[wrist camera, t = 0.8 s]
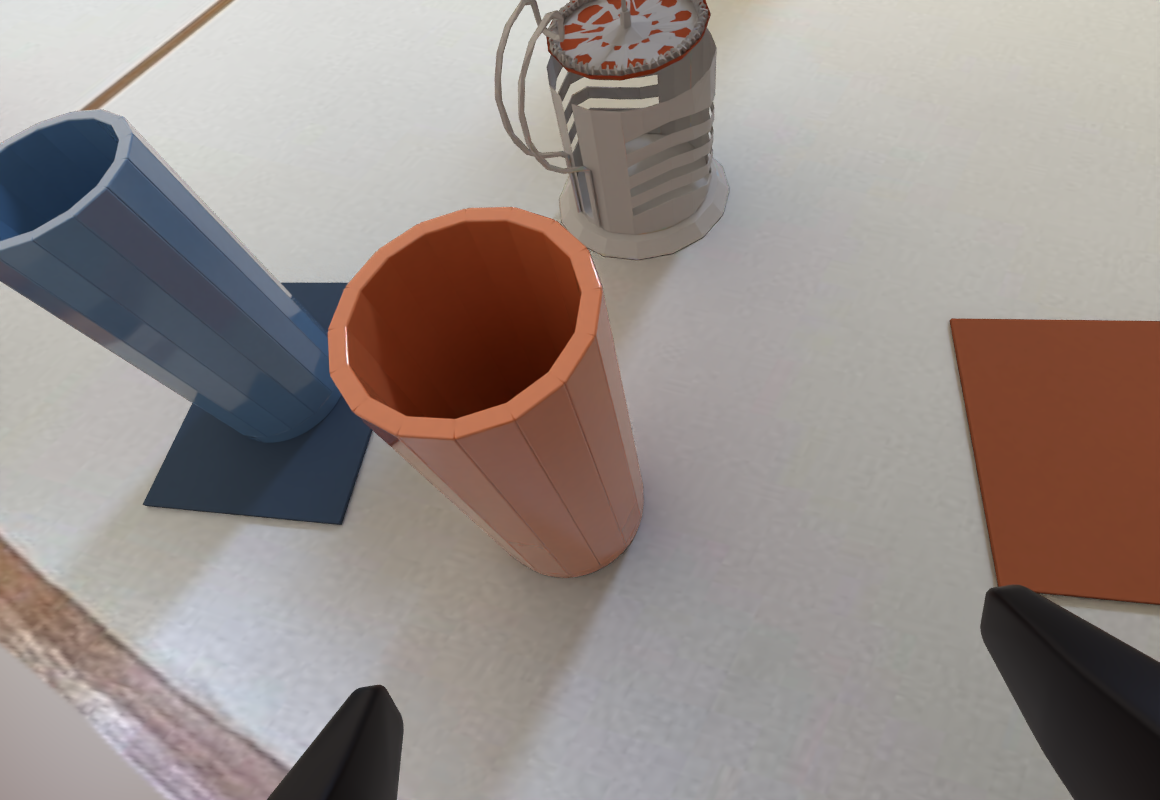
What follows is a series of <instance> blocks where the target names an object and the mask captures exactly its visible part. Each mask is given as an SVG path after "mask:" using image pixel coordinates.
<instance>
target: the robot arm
mask: <svg viewBox="0 0 1160 800" xmlns="http://www.w3.org/2000/svg"><path fill="white" fill-rule="evenodd" d="M980 629H981V635H982V638H983V641H984V643H985V645H986V647H987V649H988V651H989V653H990V655H991V656H992V658H993V660H994V662H995V664H996V666H997V668H998V670H999V671H1000V673H1001V675H1002V677H1003V679H1004V681H1005V683H1006V684H1007V686H1008V688H1009V690H1010V692H1011V694H1012V696H1013V697H1014V699H1015V701H1016V703H1017V705H1018V707H1019V709H1020V710H1021V712H1022V714H1023V716H1024V718H1025V720H1026V722H1027V724H1028V725H1029V727H1030V729H1031V731H1032V733H1033V735H1034V736H1035V738H1036V740H1037V742H1038V743H1039V745H1040V747H1041V749H1042V751H1043V752H1044V754H1045V756H1046V757H1047V759H1048V760H1049V762H1050V763H1051V765H1052V767H1053V768H1054V770H1055V771H1056V773H1057V774H1058V776H1059V777H1060V779H1061V780H1062V782H1063V783H1064V785H1065V786H1066V788H1067V789H1068V791H1069V792H1070V794H1071V795H1072V797H1073V798H1074V800H1160V662H1158V661H1156V660H1154V659H1153V658H1151V657H1149V656H1147V655H1145V654H1144V653H1142V652H1140V651H1138V650H1137V649H1135V648H1133V647H1131V646H1130V645H1128V644H1126V643H1124V642H1123V641H1121V640H1119V639H1117V638H1115V637H1114V636H1112V635H1110V634H1108V633H1107V632H1105V631H1103V630H1101V629H1100V628H1098V627H1096V626H1094V625H1092V624H1091V623H1089V622H1087V621H1085V620H1084V619H1082V618H1080V617H1078V616H1077V615H1075V614H1073V613H1071V612H1069V611H1068V610H1066V609H1064V608H1062V607H1061V606H1059V605H1057V604H1055V603H1054V602H1052V601H1050V600H1048V599H1046V598H1045V597H1043V596H1041V595H1039V594H1038V593H1036V592H1034V591H1032V590H1031V589H1029V588H1027V587H1024V586H1022V585H1007V586H1000V587H994V588H991V589H989V590H988V591H987V592H986V596H985V602H984V607H983V613H982V619H981V626H980ZM402 741H403V720H402V716H401V714H400V712H399V710H398V709H397V707H396V705H395V703H394V702H393V700H392V698H391V696H390V695H389V693H388V691H387V689H386V688H385V687H384V686H382V685H374V686H368V687H361V688H358V689H356V690H355V691H354V692H353V693H352V694H351V695H350V696H349V697H348V699H347V700H346V701H345V702H344V704H343V705H342V706H341V707H340V709H339V710H338V711H337V712H336V714H335V715H334V716H333V717H332V719H331V720H330V721H329V722H328V724H327V725H326V726H325V727H324V729H323V730H322V731H321V732H320V734H319V735H318V736H317V737H316V739H315V740H314V741H313V742H312V744H311V745H310V746H309V747H308V749H307V750H306V751H305V752H304V754H303V755H302V756H301V757H300V759H299V760H298V761H297V762H296V764H295V765H294V766H293V768H292V769H291V770H290V771H289V773H288V774H287V775H286V776H285V778H284V779H283V780H282V781H281V783H280V784H279V785H278V786H277V788H276V789H275V790H274V791H273V793H272V794H271V795H270V796H269V798H268V799H267V800H397V791H398V781H399V771H400V761H401V751H402Z"/></svg>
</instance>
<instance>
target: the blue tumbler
mask: <svg viewBox="0 0 1160 800" xmlns="http://www.w3.org/2000/svg"><path fill="white" fill-rule="evenodd" d="M0 281H1V282H2V283H4V284H5V285H7V286H8V287H10V288H12V289H13V290H15V291H16V292H18V293H20V294H21V295H23V296H24V297H26V298H27V299H29V300H31V301H32V302H34V303H35V304H37V305H38V306H40V307H42V308H43V309H45V310H46V311H48V312H50V313H51V314H53V315H54V316H56V317H57V318H59V319H61V320H62V321H64V322H65V323H67V324H68V325H70V326H72V327H73V328H75V329H76V330H78V331H79V332H81V333H83V334H84V335H86V336H87V337H89V338H91V339H92V340H94V341H95V342H97V343H98V344H100V345H102V346H103V347H105V348H106V349H108V350H109V351H111V352H113V353H114V354H116V355H117V356H119V357H121V358H122V359H124V360H125V361H127V362H128V363H130V364H132V365H133V366H135V367H136V368H138V369H139V370H141V371H143V372H144V373H146V374H147V375H149V376H151V377H152V378H154V379H155V380H157V381H158V382H160V383H162V384H163V385H165V386H166V387H168V388H169V389H171V390H173V391H174V392H176V393H177V394H179V395H181V396H182V397H184V398H185V399H187V400H188V401H190V402H192V403H193V404H195V405H196V406H198V407H199V408H201V409H203V410H204V411H206V412H207V413H209V414H211V415H212V416H214V417H215V418H217V419H218V420H220V421H222V422H223V423H225V424H226V425H228V426H229V427H231V428H233V429H234V430H236V431H237V432H239V433H241V434H242V435H244V436H245V437H247V438H249V439H251V440H254V441H258V442H264V443H275V442H282V441H286V440H290V439H292V438H295V437H298V436H300V435H302V434H304V433H306V432H307V431H309V430H310V429H312V428H313V427H315V426H316V425H317V424H319V423H320V422H321V421H322V420H323V419H324V418H325V417H326V416H327V415H328V414H329V413H330V412H331V411H332V409H333V408H334V407H335V405H336V404H337V402H338V401H339V399H340V397H341V393H340V391H339V390H338V388H337V387H336V385H335V383H334V382H333V380H332V379H331V377H330V373H329V352H328V333H327V332H326V331H325V330H324V329H323V328H322V327H321V325H320V324H319V323H318V322H317V321H316V320H315V319H314V318H313V317H312V316H311V315H310V314H309V313H308V312H307V311H306V310H305V308H304V307H303V306H302V305H301V304H300V303H299V302H298V301H297V300H296V299H295V298H294V297H293V296H292V295H291V294H290V293H289V291H288V290H287V289H286V288H285V287H284V286H283V285H282V284H281V283H280V282H279V281H278V280H277V279H276V278H275V277H274V276H273V274H272V273H271V272H270V271H269V270H268V269H267V268H266V267H265V266H264V265H263V264H262V263H261V262H260V261H259V260H258V259H257V257H256V256H255V255H254V254H253V253H252V252H251V251H250V250H249V249H248V248H247V247H246V246H245V245H244V244H243V243H242V242H241V240H240V239H239V238H238V237H237V236H236V235H235V234H234V233H233V232H232V231H231V230H230V229H229V228H228V227H227V226H226V225H225V224H224V222H223V221H222V220H221V219H220V218H219V217H218V216H217V215H216V214H215V213H214V212H213V211H212V210H211V209H210V208H209V207H208V205H207V204H206V203H205V202H204V201H203V200H202V199H201V198H200V197H199V196H198V195H197V194H196V193H195V192H194V191H193V190H192V188H191V187H190V186H189V185H188V184H187V183H186V182H185V181H184V180H183V179H182V178H181V177H180V176H179V175H178V174H177V173H176V171H175V170H174V169H173V168H172V167H171V166H170V165H169V164H168V163H167V162H166V161H165V160H164V159H163V158H162V157H161V156H160V154H159V153H158V152H157V151H156V150H155V149H154V148H153V147H152V146H151V145H150V144H149V143H148V142H147V141H146V140H145V139H144V137H143V136H142V135H141V134H140V133H139V132H138V131H137V130H136V129H135V128H134V127H133V126H132V125H131V124H130V123H129V122H128V120H127V119H126V118H124V117H123V116H120V115H117V114H114V113H111V112H109V111H106V110H101V109H99V110H86V111H73V112H69V113H66V114H63V115H60V116H57V117H54V118H51V119H48V120H45V121H42V122H39V123H37V124H35V125H33V126H31V127H29V128H27V129H25V130H23V131H22V132H20V133H18V134H16V135H14V136H12V137H11V138H9V139H7V140H5V141H4V142H2V143H0Z"/></svg>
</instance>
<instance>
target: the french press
mask: <svg viewBox="0 0 1160 800" xmlns="http://www.w3.org/2000/svg"><path fill="white" fill-rule="evenodd" d="M525 5H531V7H532V9H533V13H534V16H535V19H536V22H537V25H538V28H537V29H536V31H535V32H534V34H533V36H532V37H531V39H530V41H529V43H528V46H527V50H526V54H525V58H524V61H523V65H522V69H521V73H520V77H519V82H518V115H519V120H520V123H521V127H522V130H523V134H524V137H525V141H526V144H527V146H528V148H529V149H528V148H527V147H526V146H525V145H524V144H523V142H522V141H521V140H520V139H519V138H518V137H517V136H516V135H515V134H514V132H513V129H512V126H511V124H510V121H509V118H508V116H507V113H506V110H505V108H504V105H503V102H502V91H501V72H502V61H503V53H504V49H505V46H506V42H507V39H508V36H509V32H510V29H511V27H512V25H513V23H514V22H515V20H516V19H517V17H518V15H519V14H520V12H521V11H522V9H523V7H524V6H525ZM710 15H711V14H710V11H709V8H708V6H707V3H706V1H705V0H570V2H569V3H566V5H565V6H564V7H562V8H560V10H559V11H557V10H556V11H553V12H550V13H547V14H546V15H545V16H544V18H543V19H542V21H541V17H540V13H539V9H538V6H537V2H536V0H521V1H520V3H519V4H518V6H517V8H516V9H515V11H514V12H513V14H512V15H511V17H510V18H509V20H508V21H507V23H506V24H505V27H504V30H503V33H502V37H501V40H500V43H499V47H498V50H497V56H496V69H495V100H496V103H497V106H498V109H499V112H500V116H501V119H502V122H503V125H504V128H505V130H506V131H507V133H508V134H509V136H510V137H511V139H512V141H513V142H514V144H516V145H517V146H518V147H519V148H520V149H521V150H522V151H523V152H524V153H525V154H527V155H530V156H534V157H535V158H536V160H538V161H539V162H540V163H541V164H542V165H543V166H544V167H545V168H546V169H547V170H550V171H555V172H559V173H569V177H568V179H567V181H566V184H565V186H564V189H563V191H562V193H561V196H560V198H559V202H560V210H561V219H562V223H563V224H564V226H565V227H566V228H567V230H568V231H569V232H570V233H571V234H572V235H573V236H574V237H576V238H577V239H578V240H579V241H580V242H581V243H582V244H584V245H585V246H586V247H587V248H589V249H591V250H593V251H595V252H597V253H599V254H601V255H603V256H609V257H618V258H626V259H635V260H640V259H645V258H650V257H655V256H661V255H666V254H671V253H674V252H676V251H678V250H680V249H682V248H684V247H686V246H687V245H689V244H691V243H693V242H695V241H697V240H699V239H700V238H702V237H704V236H705V234H706V233H707V232H708V231H709V230H710V229H711V228H712V226H713V225H714V224H715V223H716V222H717V221H718V220H719V218H720V217H721V216H722V215H723V213H724V209H725V205H726V201H727V197H728V193H729V186H728V183H727V180H726V176H725V173H724V170H723V167H722V165H720V164H719V163H718V162H717V161H716V160H715V159H714V158H713V157H712V156H713V149H712V143H713V127H712V124H713V121H714V105H713V99H714V96H715V80H716V45H715V43H714V40H713V38H712V35H711V33H710V32H709V30H708V29H707V24H708V21H709V18H710ZM552 19H553V20H552ZM551 20H552V22H551V24H550V26H549V28H548V29H547V28H546V26H547V25H548V23H549V22H550V21H551ZM541 33H543V34H544V35H545V36H546V37H547V45H548V52H549V53H550V54H551V56H550V59H549V62H548V65H547V72H548V79H549V85H550V90H551V94H552V99H553V103H554V108H555V112H556V117H557V121H558V126H559V130H560V135H561V139H562V144H563V148H564V152H563V151H559V152H546V153H541V152H538V151H537V149H536V148H535V146H534V145H533V143H532V142H531V138H530V134H529V130H528V126H527V122H526V118H525V114H524V98H525V77H526V73H527V70H528V66H529V63H530V59H531V56H532V52H533V49H534V45H535V42H536V40H537V39H538V37H539V36H540V34H541ZM562 67H564V68H565V69H566V70H567V71H568V72H567V75H566V77H565V79H564V81H563V83H562V85H561V87H560V89H559V91H558V93H557V92H556V91H555V89H556V80H557V77H558V75H559V73H560V71H561V69H562ZM657 74H658V84H657V85H652V86H646V87H640V88H636V87H592V86H587V87H585V88H583V89H582V90H580V91H578V92H576V93H575V94H573V95H572V96H571V99H570V101H569V103H568V105H567V108H566V110H565V112H564V110H563V105H562V101H563V99H564V97H565V95H566V93H567V91H568V88H569V86H570V84H572V83H574V82H576V81H577V80H579V79H581V78H583V77H586V78H589V79H595V80H625V79H630V78H638V77H645V76H651V75H657ZM658 96H659V104H656V105H653V106H649V107H646V108H590V109H585V108H582V107H579V106H577V105H579V104H580V103H582V102H584V101H585V100H587V99H589V98H608V99H644V98H651V97H658ZM709 107H710V108H711V112H712V115H711V118H710V115H709ZM572 112H573V115H574V123H573V125H572V127H571V129H570V132H569V134H568V129H567V123H568V121H569V118H570V116H571V114H572ZM708 132H710V133H711V138H710V139H709V135H708ZM576 133H577V136H578V142H577V144H576V146H575V148H574V151H573V153H572V148H571V143H572V141H573V139H574V137H575V135H576ZM709 153H710V154H709ZM559 156H561V157H564V158H565V160H566V164H567V168H564V169H563V168H559V167H556V166H553V165H550V164H549V163H548V162H547V161H546V160H545V159H544V158H551V157H559Z"/></svg>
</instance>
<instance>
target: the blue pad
mask: <svg viewBox="0 0 1160 800" xmlns="http://www.w3.org/2000/svg"><path fill="white" fill-rule="evenodd" d="M281 284H282V285H283V286H284V287H285V288H286V289H287V290H288V291H289V293H290V294H291V295H292V296H293V297H294V298H295V299H296V300H297V301H298V302H299V303H300V304H301V305H302V306H303V307H304V308H305V310H306V311H307V312H308V313H309V314H310V315H311V316H312V317H313V318H314V319H315V320H316V321H317V322H318V323H319V324H320V325H321V327H322V328H323V329H324V330H325V331H326V332H327V333H328V331H329V330H328V328H329V325H330V323H331V320H332V318H333V315H334V313H335V310H336V308H337V305H338V303H339V300H340V298H341V295H342V293H343V290H344V289H345V288H346V285H347V284H348V283H281ZM371 432H372V429H371V428H370V427H369V426H367V425H366V424H365V423H364V422H363V421H362V420H361V419H360V418H359V417H358V416H356V415H355V414H354V413H353V412H352V411H351V409H350V407H349V406H348V404H347V403H346V401H345V399H344V398H343V396H342V395H341V397H340V399H339V401H338V402H337V404H336V405H335V407H334V408H333V409H332V411H331V412H330V413H329V414H328V415H327V416H326V417H325V418H324V419H323V420H322V421H321V422H320V423H319V424H317V425H316V426H315V427H313V428H312V429H310V430H309V431H307V432H306V433H304V434H302V435H300V436H298V437H295V438H292V439H290V440H286V441H282V442H275V443H264V442H258V441H254V440H251V439H249V438H247V437H245V436H244V435H242V434H241V433H239V432H237V431H236V430H234V429H233V428H231V427H229V426H228V425H226V424H225V423H223V422H222V421H220V420H218V419H217V418H215V417H214V416H212V415H211V414H209V413H207V412H206V411H204V410H203V409H201V408H199V407H198V406H196V405H195V404H193V403H192V405H191V407H190V409H189V411H188V413H187V415H186V417H185V419H184V421H183V423H182V426H181V428H180V430H179V432H178V434H177V436H176V438H175V440H174V442H173V444H172V446H171V448H170V450H169V452H168V454H167V456H166V458H165V460H164V462H163V464H162V466H161V468H160V470H159V472H158V474H157V476H156V478H155V480H154V483H153V485H152V487H151V489H150V491H149V493H148V495H147V497H146V499H145V501H144V503H143V505H145V506H154V507H164V508H174V509H184V510H195V511H205V512H215V513H225V514H235V515H246V516H256V517H266V518H276V519H287V520H297V521H307V522H317V523H328V524H338V525H341V524H342V521H343V518H344V515H345V512H346V509H347V506H348V503H349V500H350V497H351V494H352V491H353V487H354V484H355V481H356V478H357V475H358V472H359V469H360V466H361V463H362V460H363V457H364V454H365V451H366V448H367V445H368V442H369V438H370V435H371Z"/></svg>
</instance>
